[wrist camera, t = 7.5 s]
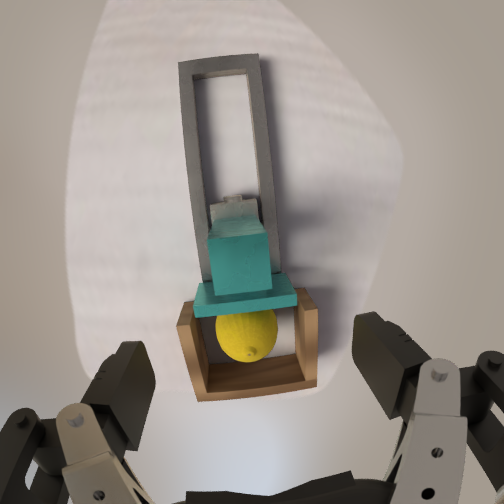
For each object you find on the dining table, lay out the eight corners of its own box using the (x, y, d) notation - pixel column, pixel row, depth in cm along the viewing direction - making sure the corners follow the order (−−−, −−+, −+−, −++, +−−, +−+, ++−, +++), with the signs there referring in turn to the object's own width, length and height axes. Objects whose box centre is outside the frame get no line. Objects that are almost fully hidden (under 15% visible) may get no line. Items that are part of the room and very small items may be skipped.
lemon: (258, 271, 27) (269, 316, 20) (278, 314, 29) (293, 364, 22) (207, 292, 28) (201, 342, 20) (231, 333, 30) (233, 386, 22)
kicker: (189, 201, 25) (164, 214, 16) (275, 190, 26) (303, 198, 16) (202, 287, 28) (189, 343, 18) (282, 277, 28) (309, 328, 18)
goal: (184, 302, 28) (176, 326, 23) (304, 287, 29) (317, 308, 24) (201, 373, 31) (197, 401, 26) (305, 360, 31) (316, 386, 26)
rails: (180, 68, 22) (178, 62, 21) (256, 59, 23) (258, 53, 21) (208, 300, 28) (207, 307, 27) (280, 291, 29) (283, 297, 27)
